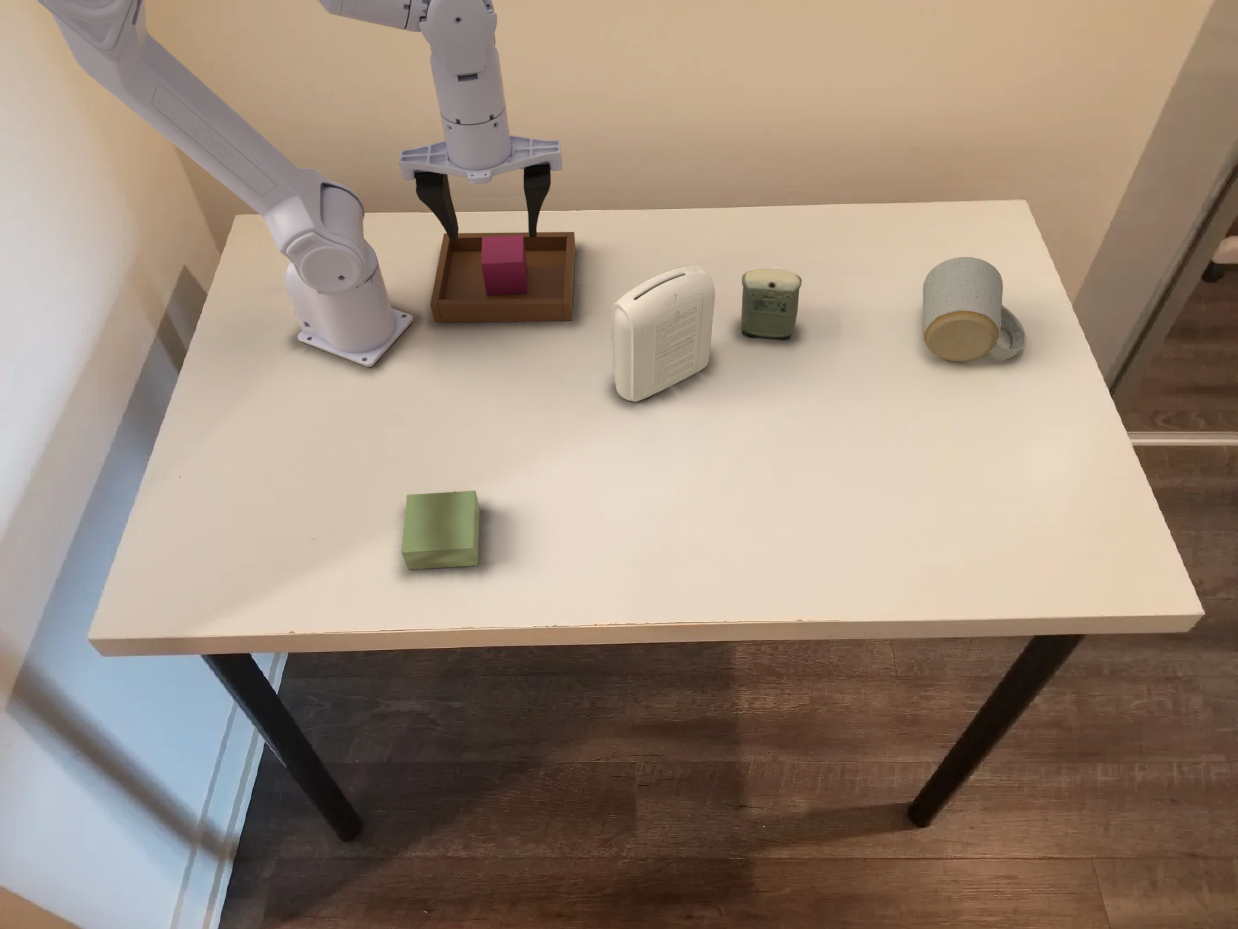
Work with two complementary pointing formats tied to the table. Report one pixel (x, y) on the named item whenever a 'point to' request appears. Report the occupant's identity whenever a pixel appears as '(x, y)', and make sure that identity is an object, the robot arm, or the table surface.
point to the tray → (467, 301)
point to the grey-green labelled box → (769, 303)
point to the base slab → (441, 530)
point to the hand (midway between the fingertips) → (493, 233)
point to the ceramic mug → (967, 311)
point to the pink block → (504, 265)
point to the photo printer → (662, 332)
